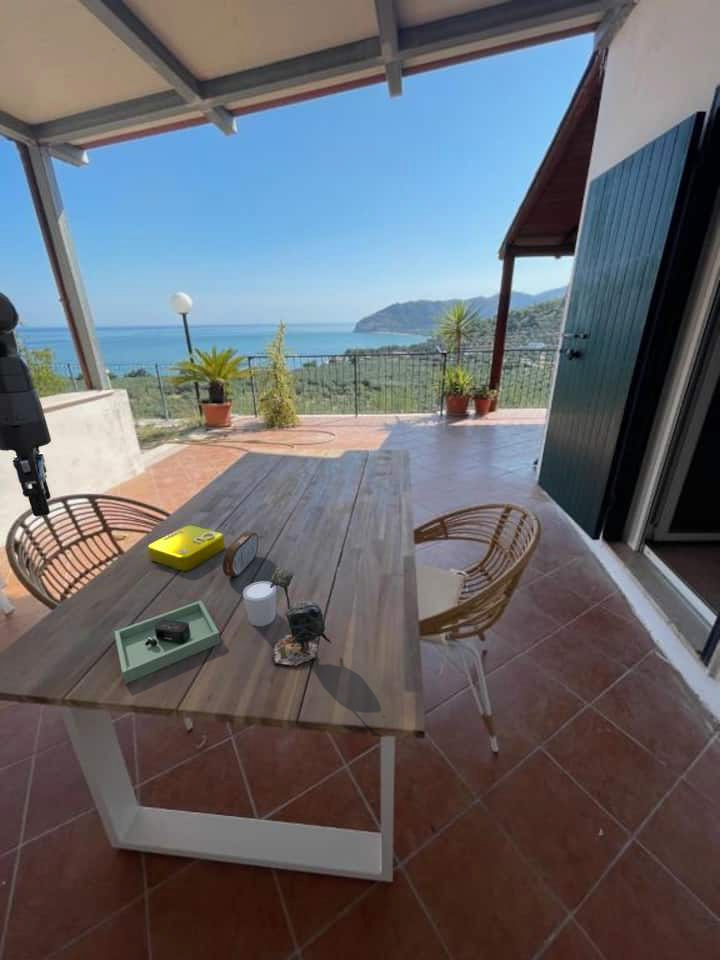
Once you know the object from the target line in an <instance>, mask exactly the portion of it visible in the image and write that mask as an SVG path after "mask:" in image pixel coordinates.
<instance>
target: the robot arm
mask: <svg viewBox="0 0 720 960" xmlns="http://www.w3.org/2000/svg"><path fill="white" fill-rule="evenodd" d="M19 320H20V316H19V311H18V309H17V307H16V305H15V303H14V302H13V301H12V300H11V299H10V298H9V297H8V296H7V295H5V294H4V293H2V292H1V291H0V451H5V452H6V451H7V452H9V451H13V452H15V455H14V456H13V459H12V464H13V468H14V469H15V470H16V475H17V479H18V482H19V484H20V486H21V489H22V495H23V497H25V498H28V502H29V505H30V508H31V511H32V515H33V516H34V517H35V518H36V517H37V518H38V517H43V516H48V515H49V514H50V511H51V510H50V507H49V504H48V500H50V499H51V496H52V495H51V492H50V490H49V489H50V488H49V485H48V482H47V478H48V476H47V474H46V473H47V472H48V471H47V466H46V463H45V462H46V460H45V456H44V454H43V452H41V451H40V448H41V447H43V446H47V445H49V444H51V442H52V438H51V434H50V431H49V427H48V424H47V423H48V422H47V420H46V416H45V412H44V409H43V405H42V401H41V400H40V397H39V395H38V393H37V390H36V386H35V383H34V380H33V376H32V373H31V370H30V366H29V364H28V362H27V360H26V358H25V357H24V356H23V355H22V353H21V352H20V349H19V346H18V342H17V338H16V335H15V333H14V332H15V331H14V330H15V329H16V328H17V326H18V325H19ZM30 485H31V487H29V486H30Z"/></svg>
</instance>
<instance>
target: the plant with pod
mask: <svg viewBox="0 0 720 960" xmlns="http://www.w3.org/2000/svg"><path fill="white" fill-rule="evenodd" d="M293 575H294V572H293V571H291V570H289V569H288V568H285V567H281V566H277V568H276V569H275V572H274V573H273V575H272V577H271V583H272V584H271V586H270V588H272V587H273V586H274V585H275V586H280V587H281V588H283V590H284V594H285V597H286V603H287V611H286V613H285V616H286V619H287V623H288V626H289V629H290V631H291V634H287V635H285V637H284V638H280V639H278V641H276V642H275V643H274V647H273V651H272V655H271V658H270V661H271V662H272V663H274V664H280V665H288V666H289V665H290V666H292V665H293V667H296V666H298V665H300V664H303V663H306V662H309V661H310V660H313V659H316V658H317V657H318V643H319V641H318V640H317V638H319V637H322V638H323V639H324V640H325V641H327V642H328V643H329V644H332V640H331V638H329V637H327V635H326V634H325V630H326V625H325V617H324V614H323V611H322V609H321V607H320V605H319V604H318V603H317V602H315V601H314V600H304V601H300V602H296V603H294V605H291V604H290V603H291V602H290V597H289V595H288V594H289V586H290V585H291V582H292V578H293ZM290 606H291V607H290Z"/></svg>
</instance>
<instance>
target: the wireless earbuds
mask: <svg viewBox="0 0 720 960" xmlns="http://www.w3.org/2000/svg"><path fill="white" fill-rule="evenodd" d="M154 630H155V634H156V639H157V640H159V641H165V642H171V643H176V644H184V643H185V642H186V641H187V640H188V639H189V638H190V636H191V633H190V628H189V623H186V622H180V621H173V620H167V619H162V620H160V621H159V622H158V623H157V624H156V625H155V626H154ZM148 644H150V645H152V646H155V645H157V641H156V640H155V639H153V638H149V639H148V642H146V643H145V646H148Z"/></svg>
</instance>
